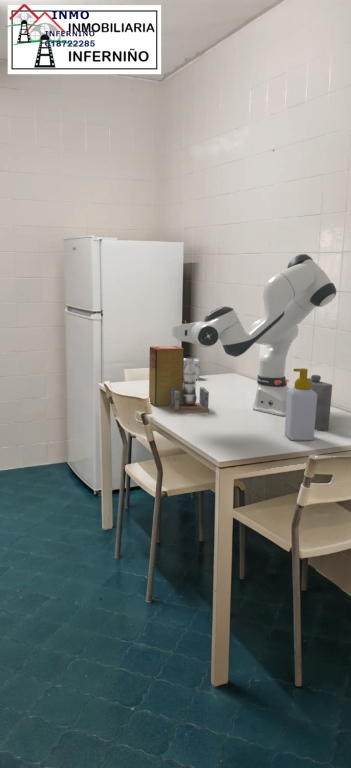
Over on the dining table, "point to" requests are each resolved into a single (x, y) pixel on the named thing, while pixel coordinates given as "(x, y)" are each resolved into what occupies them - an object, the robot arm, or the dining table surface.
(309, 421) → the soap bottle
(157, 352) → the food packaging
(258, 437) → the dining table surface
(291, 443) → the dining table surface
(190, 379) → the plastic bottle
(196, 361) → the light bulb box
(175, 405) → the bookend shelf
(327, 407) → the flask
